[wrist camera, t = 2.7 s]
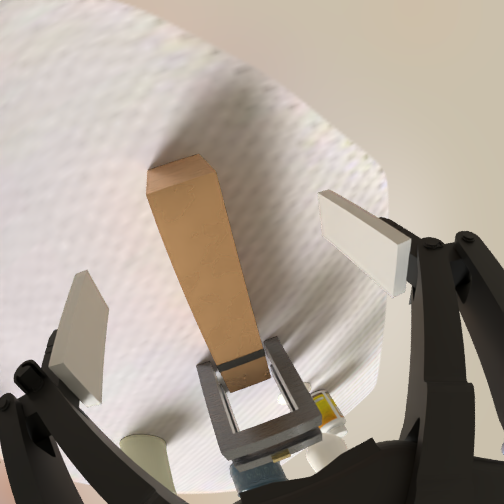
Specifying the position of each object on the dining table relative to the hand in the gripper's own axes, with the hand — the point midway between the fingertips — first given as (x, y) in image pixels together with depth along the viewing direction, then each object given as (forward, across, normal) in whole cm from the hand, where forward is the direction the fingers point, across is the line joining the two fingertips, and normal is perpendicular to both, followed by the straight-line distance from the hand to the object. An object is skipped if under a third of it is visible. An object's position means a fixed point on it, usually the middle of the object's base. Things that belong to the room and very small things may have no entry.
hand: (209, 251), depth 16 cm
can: (+15, -24, -43) cm, 51 cm away
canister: (+15, -7, -70) cm, 72 cm away
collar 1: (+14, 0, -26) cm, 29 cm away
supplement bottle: (+15, +11, -47) cm, 50 cm away
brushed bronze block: (+14, 0, -10) cm, 17 cm away
